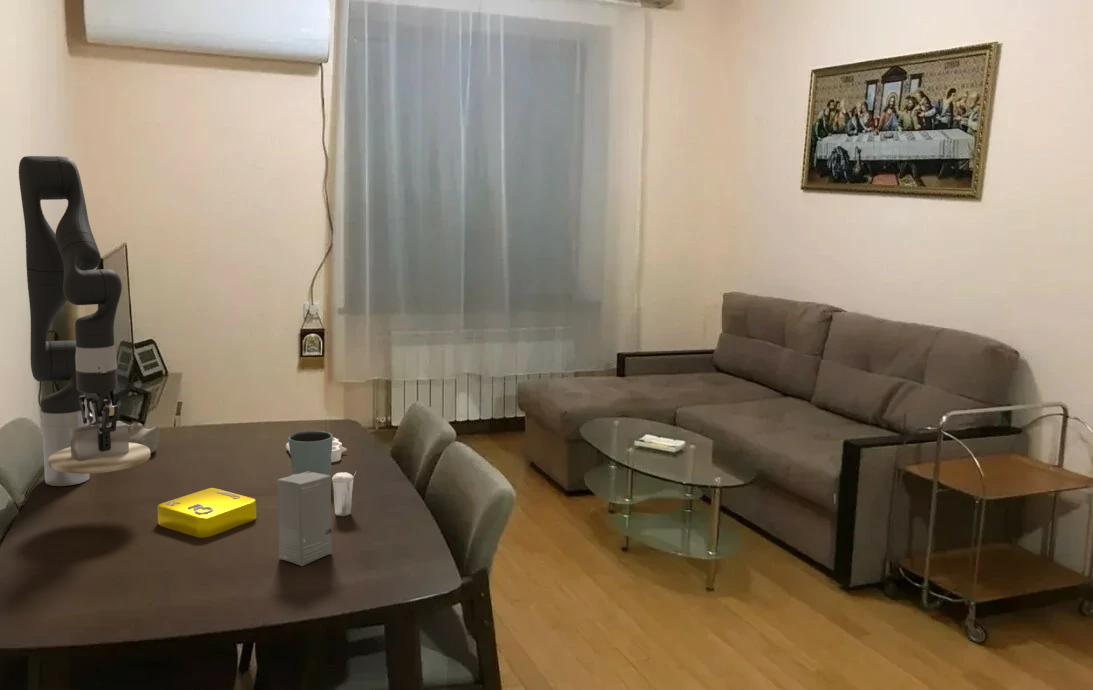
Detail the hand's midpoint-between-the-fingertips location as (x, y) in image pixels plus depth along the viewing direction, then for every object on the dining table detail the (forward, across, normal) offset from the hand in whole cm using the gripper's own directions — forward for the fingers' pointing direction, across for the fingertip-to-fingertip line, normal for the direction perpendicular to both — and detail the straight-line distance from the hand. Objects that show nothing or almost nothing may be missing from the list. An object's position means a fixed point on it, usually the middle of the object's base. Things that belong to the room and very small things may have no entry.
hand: (100, 447), depth 187 cm
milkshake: (+15, +32, +38) cm, 52 cm away
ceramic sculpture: (+16, -44, +25) cm, 53 cm away
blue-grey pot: (+15, +10, +44) cm, 48 cm away
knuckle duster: (+16, -10, +60) cm, 63 cm away
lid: (+2, 0, 0) cm, 2 cm away
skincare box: (+15, +46, +19) cm, 52 cm away
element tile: (+16, +16, +15) cm, 27 cm away
